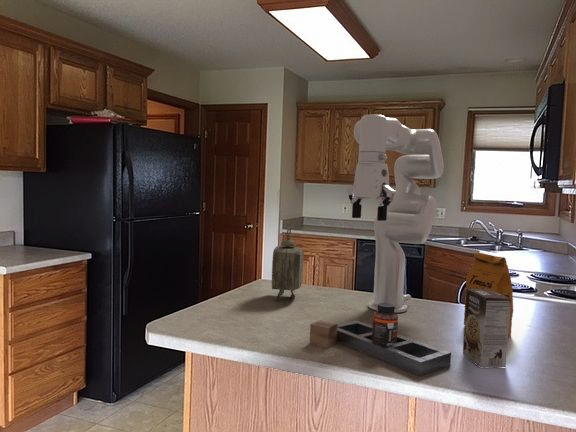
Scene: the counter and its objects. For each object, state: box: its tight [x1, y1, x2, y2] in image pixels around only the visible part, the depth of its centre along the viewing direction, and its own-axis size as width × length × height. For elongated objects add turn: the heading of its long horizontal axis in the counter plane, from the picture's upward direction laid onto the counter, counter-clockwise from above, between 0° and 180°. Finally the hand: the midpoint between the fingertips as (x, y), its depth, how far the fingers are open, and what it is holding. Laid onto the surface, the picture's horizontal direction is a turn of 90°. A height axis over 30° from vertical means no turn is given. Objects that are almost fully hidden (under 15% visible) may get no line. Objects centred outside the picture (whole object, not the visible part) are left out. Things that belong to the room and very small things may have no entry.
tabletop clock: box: [271, 225, 305, 302], centre depth 163 cm, size 14×9×25 cm, turn 172°
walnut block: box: [309, 319, 339, 349], centre depth 118 cm, size 5×5×5 cm
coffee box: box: [462, 288, 511, 368], centre depth 109 cm, size 9×6×16 cm
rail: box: [337, 320, 452, 377], centre depth 114 cm, size 29×11×3 cm, turn 38°
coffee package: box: [463, 251, 514, 338], centre depth 133 cm, size 10×12×22 cm
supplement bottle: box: [372, 303, 399, 346], centre depth 114 cm, size 6×6×11 cm
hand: (368, 219), depth 135 cm, fingers open, 9 cm apart
